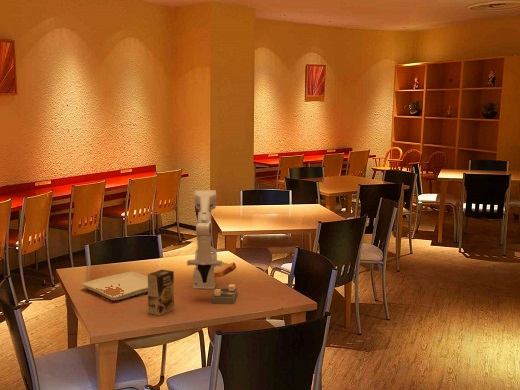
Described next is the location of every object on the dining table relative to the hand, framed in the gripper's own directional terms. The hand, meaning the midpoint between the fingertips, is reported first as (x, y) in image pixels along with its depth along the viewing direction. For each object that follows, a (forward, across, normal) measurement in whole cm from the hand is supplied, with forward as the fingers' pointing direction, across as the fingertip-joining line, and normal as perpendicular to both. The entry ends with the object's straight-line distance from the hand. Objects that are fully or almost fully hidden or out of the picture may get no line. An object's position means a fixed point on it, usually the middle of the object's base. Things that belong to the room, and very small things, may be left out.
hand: (204, 282), depth 250 cm
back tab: (+5, +10, +7) cm, 14 cm away
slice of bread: (+9, 0, +45) cm, 46 cm away
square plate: (+9, -39, +11) cm, 42 cm away
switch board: (+8, +8, +4) cm, 12 cm away
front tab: (+5, +6, 0) cm, 8 cm away
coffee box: (+8, -15, -14) cm, 22 cm away
